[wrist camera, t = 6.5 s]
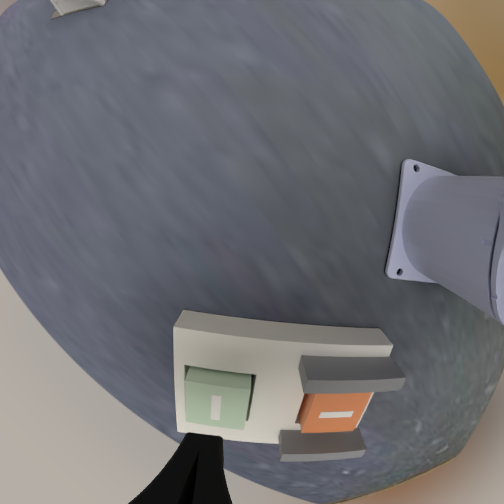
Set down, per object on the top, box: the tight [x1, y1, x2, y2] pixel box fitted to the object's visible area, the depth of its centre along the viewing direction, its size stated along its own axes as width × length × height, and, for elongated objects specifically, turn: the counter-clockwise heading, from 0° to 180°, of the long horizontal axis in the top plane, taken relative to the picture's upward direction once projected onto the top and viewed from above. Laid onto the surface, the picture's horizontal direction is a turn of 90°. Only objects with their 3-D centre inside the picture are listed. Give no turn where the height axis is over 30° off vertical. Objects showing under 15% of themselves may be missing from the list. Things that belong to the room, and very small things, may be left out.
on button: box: [185, 366, 251, 430], centre depth 17 cm, size 4×4×3 cm
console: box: [173, 310, 406, 461], centre depth 17 cm, size 14×10×5 cm
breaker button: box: [298, 392, 372, 433], centre depth 17 cm, size 4×4×3 cm
